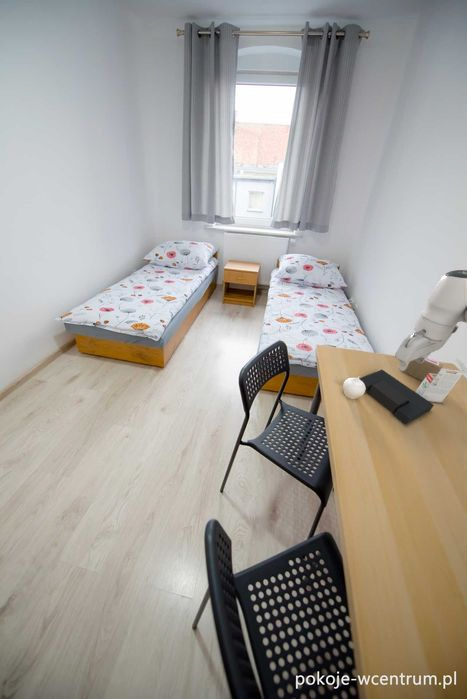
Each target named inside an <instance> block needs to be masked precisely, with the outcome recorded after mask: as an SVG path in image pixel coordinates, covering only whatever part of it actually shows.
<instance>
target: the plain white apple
mask: <svg viewBox="0 0 467 699" xmlns="http://www.w3.org/2000/svg"><path fill="white" fill-rule="evenodd" d="M359 378H361V377H360V375H358V376H357V377H349V378H346V379H345V380H344V382H343V384H342V389H343V392H344V396H346V398H348V399H351V400H356V399H358V398H360V397H362V396H363V395H364V394H365V393H366V392H365V390H366V387H365V384H364V383H363V382H362V381H361V380H360V379H359Z"/></svg>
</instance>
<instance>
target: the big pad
mask: <svg viewBox="0 0 467 699" xmlns="http://www.w3.org/2000/svg"><path fill="white" fill-rule="evenodd" d="M359 379H360V380H361V381H362V382H363V383H364V384H365V387H366V390H365V393H368V392H369V390H370V388H371V386H372V385H373V384H376V383H378V382H381V381H384V382H385V383H387V384H388V385H390V386H391V387H392V388H394V389H395V390H396V391H398V392H399V393H401V394H402V395H403V396H405V397H406V398H408V399H409V400H408V401H407V403H406V404H405V405H404V406H402V407H400V408H398V409H397V410H396V412H394V413H393V417H395V418H396V419H398V421H400V422H401V423H403V424H404V425H405V426H407V425H408V424H410V423H411V422H414V421H415V420H417V419H419V418H420V417H422V416H424V415H425V414H427V413H429V412H430V411H431V410H432V409H433V407H434V406H435V404H433V403H432V402H431V401H427V400H426V399H425V398H423V397H422V396H420V395H419V394H417V393H416V391H414V390H413V389H412V388H410V387H408V386H407V385H406V384H404V383H403V382H401V381H399V380H398V379H397V378H396V377H394V376H393V375H391V374H390V373H388V372H387V371H386V370H383V369H380V370H377V371H374V372H372V373H369V374H367V375H363V376H361V377H359Z"/></svg>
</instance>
